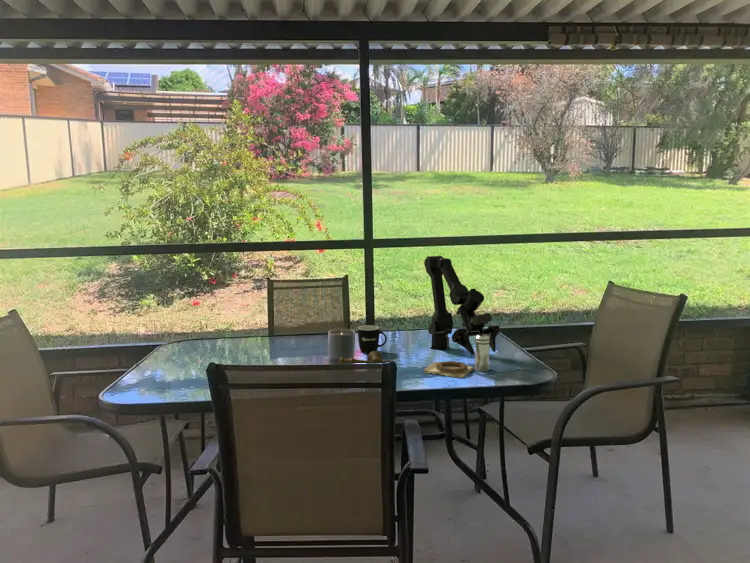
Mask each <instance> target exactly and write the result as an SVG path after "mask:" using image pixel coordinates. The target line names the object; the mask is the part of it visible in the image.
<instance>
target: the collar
mask: <svg viewBox="0 0 750 563" xmlns="http://www.w3.org/2000/svg"><path fill="white" fill-rule="evenodd" d="M473 369H474V367H473V366H469V365H467V364H466V363H464V362H461V361H454V360H448V361H447V360H446V361H433V363H431V364H430V365H429V366H427V367H426V368H424V369H423V372H424V374H430V373H432V374H431V375H436V374H439V375H438V376H443V375H445V377H450V376H451V378H457V377H458V378H459V379H464V378H465V377H466V376H467V375H468V374H470V372H472V371H473ZM458 378H457V379H458Z"/></svg>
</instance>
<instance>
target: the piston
mask: <svg viewBox="0 0 750 563" xmlns="http://www.w3.org/2000/svg"><path fill="white" fill-rule="evenodd" d="M489 340H490V336H489V335H487V334H477V335H476V336H475V352H474V357H475V358H474V361H475V362H474V369H475V371H478V372H488V371H489V370H490V369H489V368H490V346H489V343H490V341H489Z"/></svg>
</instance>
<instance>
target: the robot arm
mask: <svg viewBox="0 0 750 563" xmlns="http://www.w3.org/2000/svg"><path fill="white" fill-rule="evenodd" d="M423 263H424V267H425V271H426V274H428V277H430V281H431V291H432V299H433V305H434V312H433V314H432V316H431V323H430V325H429V327H428V328H427V329H428V330H427V331H428V334H430V335H431V346H430V348H429V349H433V350H441V351H446V350H447V349H448V348H450V337H449V335H450V334H451V341H452V343H456V344H457V345H459V346H461V347H463V348H464V349H465V350H467V352H469V353H470V354H471V355H472V356H475V349H474V348H473V345H472V342H471V341H470V337H476V335H477V334H487V335H489V336H490V340H489V341H490V343H489V348H490V349H491V350H492V352H493V353H495V352H496V351H497V348H496V347H497V346H496V344H497V343H496V340H497V338H496V337H497V336H498V335H499V333H500V332H501V331H502V330H501V327H500V325H498V324H492V325H488V324H490V322H492V320H493V319H492V315H491V313H490V312H485V313H483V314H479V315H477V313H476V311H477V310H478V309H479V308H480V306H481V305H482V303H483V302H484V301H485V296H484V294H482V293H481V291H478V290H477V288H470V289H468V287H467V286H466V285H464V284H462V282H461V281H460V278H459V276H458V274H457V273H456V271H455V268H454V266H453V264H452V260H451V259H450V258H447V257H443V256H442V255H432V256H431V255H430V256H426V258H425V259H424V261H423ZM443 278H444V280H445V283H446V284H447V286H448V289H449V294H448V295H449V300H450V302H451V303H452V305H453V306H459V307H458V308H457V311H456V315H459V316H460V318H461V320H462V322H463V323H462V324H461V325H462V327H461V328H456V329H455V330H454V332H453V327H454V320H453V314H452V313H451V312H449V311H448V309H447V304H446V296H445V294H446V293H445V286H444V280H443ZM486 324H487V325H488V327H487V328H486V329H484V328H485V326H486ZM452 332H453V333H452Z"/></svg>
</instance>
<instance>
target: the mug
mask: <svg viewBox="0 0 750 563" xmlns="http://www.w3.org/2000/svg"><path fill="white" fill-rule="evenodd" d="M380 334H382V335H383V336H384V338H385V339H384V342H383V343H381V344H380V343H379V341H380ZM357 338H358V339H357V341H358V346H359V350H360V352H361V353H363V354H369V353H371V352H373V351H378V349H379V348H381V347H383V346H385V344H386V343H387V341H388V337H387V335H386V333H385V332H383V331H381V330H380V327H379V326H377V325H372V324H371V325H360V326H358V327H357Z"/></svg>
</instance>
